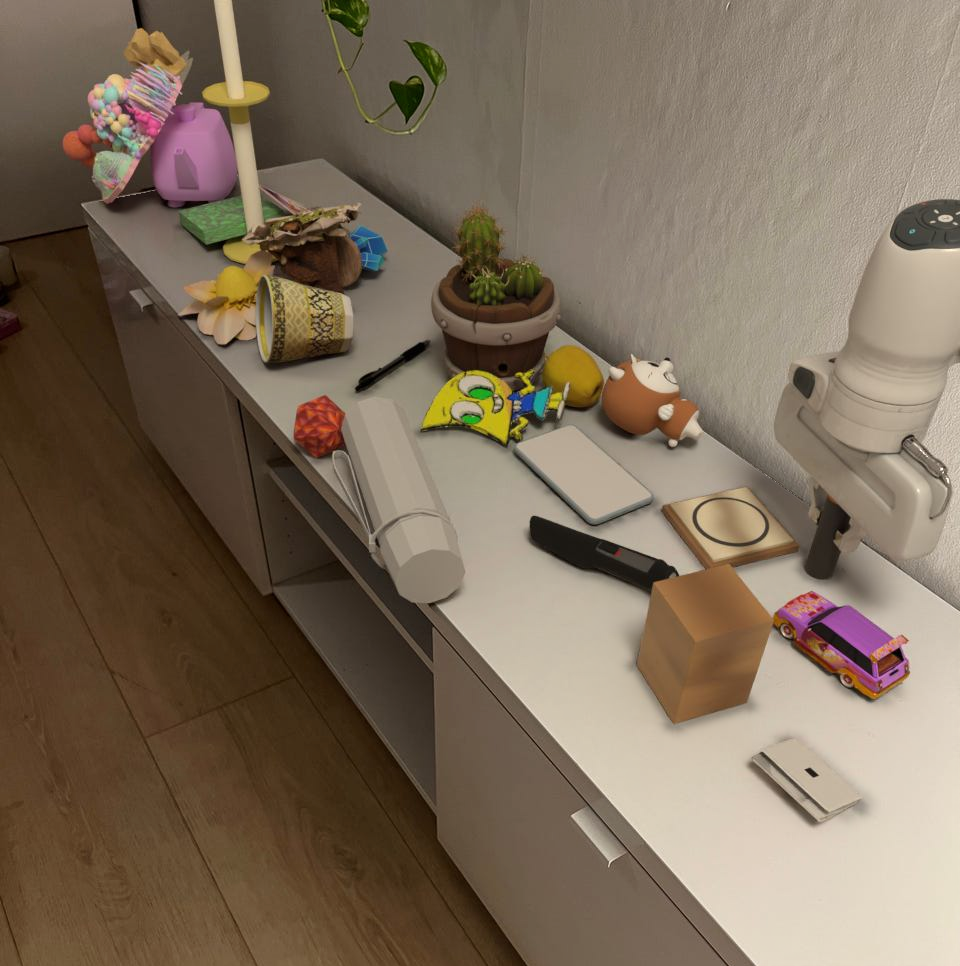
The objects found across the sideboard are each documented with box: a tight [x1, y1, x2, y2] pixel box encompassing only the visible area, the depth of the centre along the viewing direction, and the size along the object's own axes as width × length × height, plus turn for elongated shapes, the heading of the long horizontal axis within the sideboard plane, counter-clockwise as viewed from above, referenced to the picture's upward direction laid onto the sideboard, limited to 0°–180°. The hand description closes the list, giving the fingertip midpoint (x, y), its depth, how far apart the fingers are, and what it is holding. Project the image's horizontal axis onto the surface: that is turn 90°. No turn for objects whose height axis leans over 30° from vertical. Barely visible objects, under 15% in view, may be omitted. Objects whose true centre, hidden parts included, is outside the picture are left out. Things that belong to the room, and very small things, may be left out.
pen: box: [354, 339, 431, 392], centre depth 120 cm, size 14×2×1 cm, turn 144°
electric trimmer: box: [529, 515, 680, 592], centre depth 95 cm, size 4×16×3 cm, turn 58°
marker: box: [803, 494, 852, 580], centre depth 92 cm, size 3×3×11 cm
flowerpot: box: [430, 197, 562, 398], centre depth 112 cm, size 14×15×20 cm
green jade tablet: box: [177, 194, 285, 245], centre depth 143 cm, size 11×12×2 cm
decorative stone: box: [293, 394, 346, 459], centre depth 106 cm, size 6×7×8 cm
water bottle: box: [331, 396, 466, 604], centre depth 97 cm, size 9×8×25 cm
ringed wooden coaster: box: [661, 485, 800, 570], centre depth 100 cm, size 10×10×1 cm
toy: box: [420, 370, 571, 449], centre depth 110 cm, size 10×1×15 cm
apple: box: [541, 344, 605, 408], centre depth 114 cm, size 6×6×8 cm
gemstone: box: [335, 224, 389, 288], centre depth 135 cm, size 7×9×12 cm
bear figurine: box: [241, 201, 363, 295], centre depth 128 cm, size 14×15×12 cm
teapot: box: [150, 101, 238, 208], centre depth 148 cm, size 20×12×13 cm, turn 3°
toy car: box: [772, 590, 911, 700], centre depth 87 cm, size 6×12×5 cm, turn 35°
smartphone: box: [513, 424, 655, 526], centre depth 105 cm, size 8×1×15 cm
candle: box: [201, 0, 280, 265], centre depth 127 cm, size 10×10×38 cm
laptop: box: [751, 737, 863, 823], centre depth 78 cm, size 7×6×2 cm
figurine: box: [601, 353, 704, 448], centre depth 109 cm, size 9×9×12 cm
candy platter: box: [61, 27, 194, 205], centre depth 143 cm, size 25×24×9 cm
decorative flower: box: [177, 250, 287, 345], centre depth 127 cm, size 15×11×10 cm
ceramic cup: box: [256, 275, 355, 364], centre depth 120 cm, size 13×10×10 cm
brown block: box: [636, 564, 774, 725], centre depth 82 cm, size 7×7×10 cm
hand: (831, 533), depth 93 cm, fingers closed on marker, 3 cm apart
